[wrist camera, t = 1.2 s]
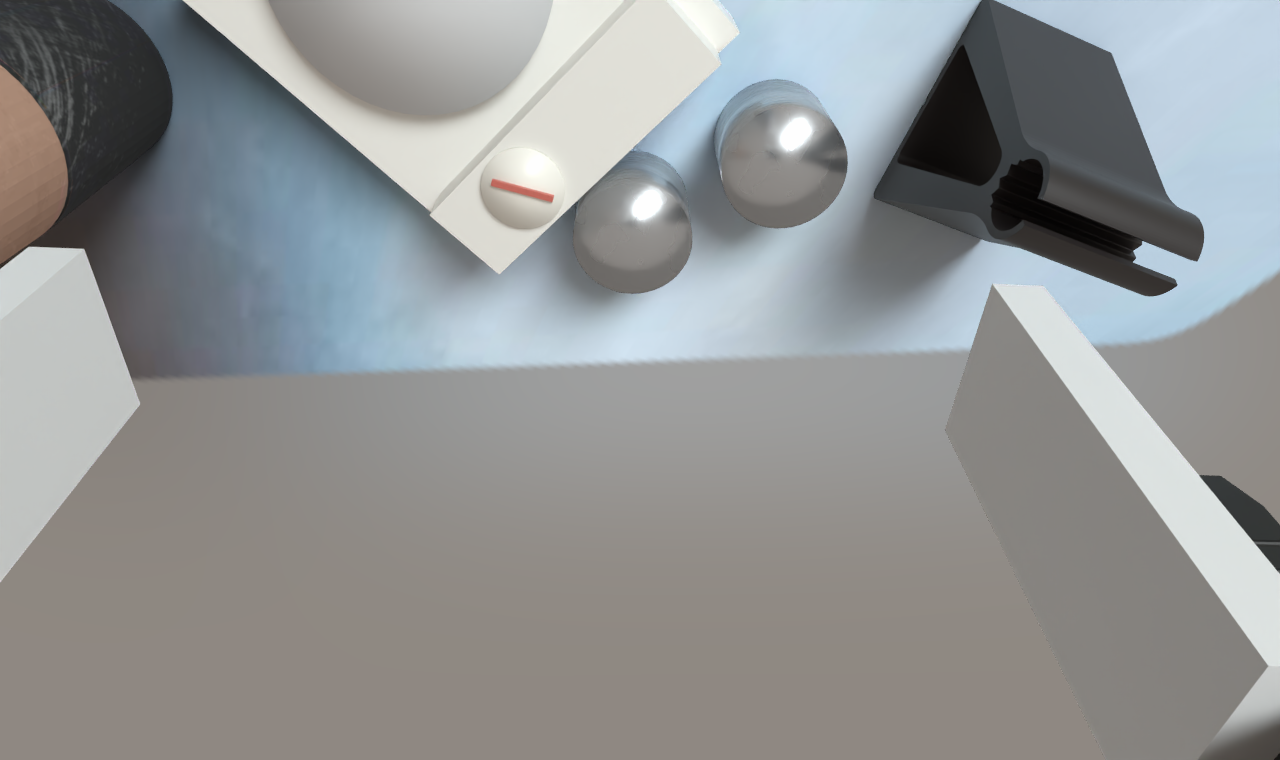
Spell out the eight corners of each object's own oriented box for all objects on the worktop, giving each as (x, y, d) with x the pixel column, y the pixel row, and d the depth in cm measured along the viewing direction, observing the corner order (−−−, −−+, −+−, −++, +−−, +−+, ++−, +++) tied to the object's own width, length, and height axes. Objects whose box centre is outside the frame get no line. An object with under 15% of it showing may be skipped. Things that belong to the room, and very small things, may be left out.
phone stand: (983, 237, 40) (1098, 381, 30) (871, 194, 39) (952, 328, 29) (1107, 51, 35) (1292, 147, 25) (984, -6, 34) (1129, 72, 24)
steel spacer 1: (555, 202, 39) (548, 239, 36) (634, 127, 37) (634, 158, 34) (631, 273, 41) (631, 314, 38) (709, 205, 39) (716, 242, 36)
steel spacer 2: (690, 136, 37) (695, 168, 34) (780, 53, 35) (795, 79, 32) (762, 213, 39) (774, 251, 36) (851, 139, 37) (872, 171, 34)
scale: (193, -34, 33) (119, -8, 28) (415, -360, 28) (370, -394, 23) (503, 238, 40) (485, 296, 35) (732, 16, 34) (747, 50, 30)
